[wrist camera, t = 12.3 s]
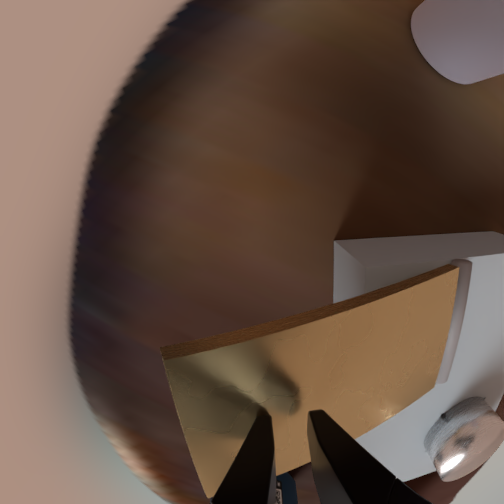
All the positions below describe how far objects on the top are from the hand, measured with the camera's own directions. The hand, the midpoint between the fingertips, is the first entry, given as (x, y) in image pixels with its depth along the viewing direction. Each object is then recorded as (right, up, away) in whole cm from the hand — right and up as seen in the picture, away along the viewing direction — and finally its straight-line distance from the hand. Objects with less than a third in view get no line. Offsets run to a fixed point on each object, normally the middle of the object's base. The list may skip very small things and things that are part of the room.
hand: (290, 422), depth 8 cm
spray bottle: (+11, +18, +5) cm, 22 cm away
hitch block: (+10, -2, +10) cm, 14 cm away
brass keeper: (+2, +1, +2) cm, 3 cm away
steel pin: (+12, -5, +11) cm, 17 cm away
